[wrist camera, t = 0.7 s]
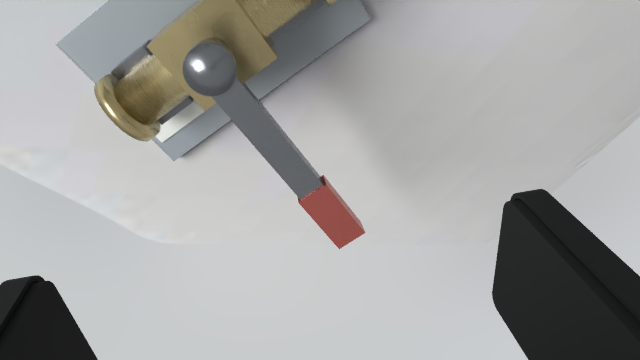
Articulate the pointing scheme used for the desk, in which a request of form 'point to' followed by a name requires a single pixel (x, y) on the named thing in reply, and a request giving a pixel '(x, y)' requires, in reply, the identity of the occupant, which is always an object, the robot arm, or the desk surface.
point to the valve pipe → (171, 49)
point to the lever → (268, 138)
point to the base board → (164, 6)
